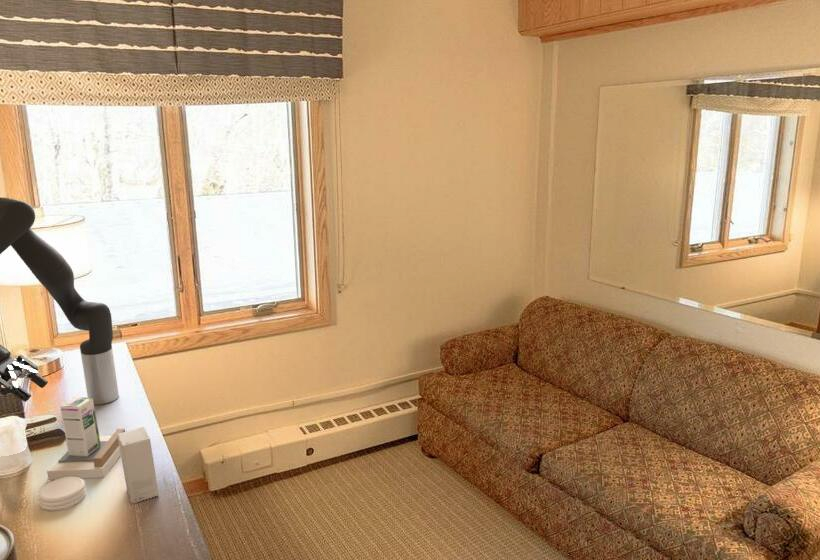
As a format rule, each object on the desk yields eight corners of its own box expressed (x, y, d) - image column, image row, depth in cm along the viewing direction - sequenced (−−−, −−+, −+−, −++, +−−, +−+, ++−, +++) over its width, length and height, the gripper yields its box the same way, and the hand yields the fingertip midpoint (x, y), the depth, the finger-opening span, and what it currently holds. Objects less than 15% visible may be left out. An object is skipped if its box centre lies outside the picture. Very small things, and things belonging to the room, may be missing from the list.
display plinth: (80, 444, 181) (77, 428, 179) (130, 442, 181) (127, 427, 180) (48, 479, 163) (45, 462, 162) (104, 477, 164) (101, 460, 163)
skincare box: (159, 496, 155) (151, 439, 151) (130, 505, 152) (121, 446, 148) (152, 480, 162) (145, 425, 158) (124, 489, 159) (116, 432, 155)
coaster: (38, 516, 148) (36, 503, 148) (42, 494, 157) (39, 481, 156) (86, 505, 153) (83, 492, 152) (87, 484, 161) (85, 472, 160)
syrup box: (88, 457, 168) (80, 406, 164) (67, 455, 169) (59, 405, 165) (101, 446, 174) (93, 397, 170) (81, 445, 174) (73, 396, 171)
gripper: (-24, 352, 156) (32, 393, 159) (8, 333, 169) (59, 371, 173) (-42, 373, 157) (13, 413, 160) (-9, 352, 171) (42, 390, 174)
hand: (37, 392), depth 167 cm, fingers open, 8 cm apart
